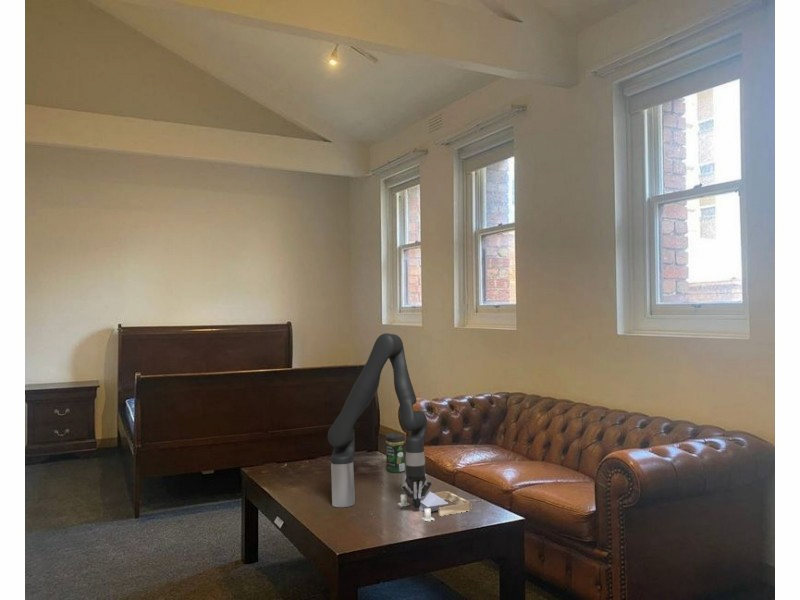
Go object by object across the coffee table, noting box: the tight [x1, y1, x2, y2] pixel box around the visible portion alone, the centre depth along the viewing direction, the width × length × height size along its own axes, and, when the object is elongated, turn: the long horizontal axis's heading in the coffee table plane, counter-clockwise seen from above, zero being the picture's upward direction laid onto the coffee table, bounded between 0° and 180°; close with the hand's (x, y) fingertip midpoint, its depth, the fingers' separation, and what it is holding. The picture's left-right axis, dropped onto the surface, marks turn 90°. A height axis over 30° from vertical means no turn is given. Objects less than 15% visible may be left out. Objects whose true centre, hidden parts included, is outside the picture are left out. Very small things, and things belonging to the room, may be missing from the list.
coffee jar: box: [385, 432, 406, 474], centre depth 304 cm, size 10×8×19 cm
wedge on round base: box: [417, 490, 449, 512], centre depth 242 cm, size 9×7×13 cm
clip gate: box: [397, 493, 435, 522], centre depth 239 cm, size 25×4×4 cm, turn 25°
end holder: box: [422, 490, 473, 517], centre depth 244 cm, size 19×14×3 cm
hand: (416, 507), depth 239 cm, fingers closed
